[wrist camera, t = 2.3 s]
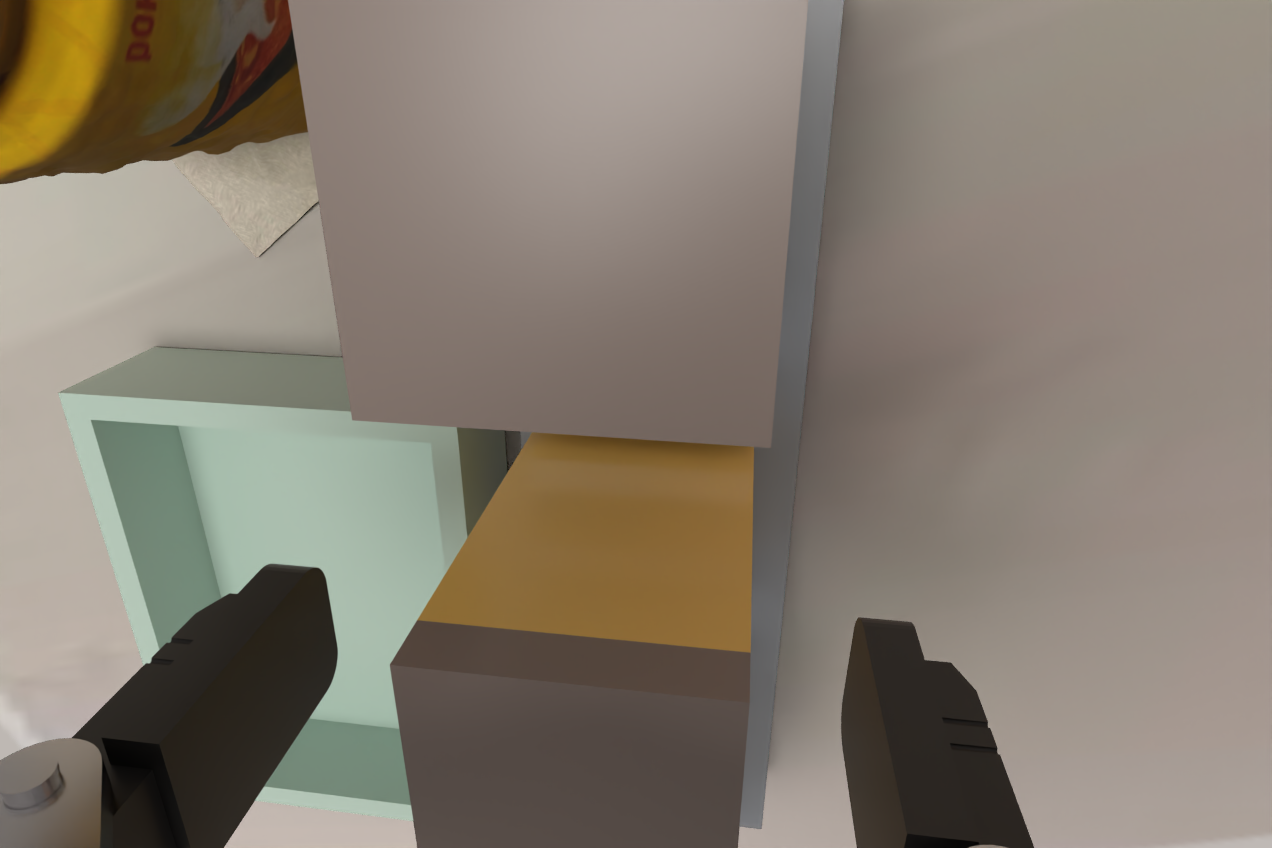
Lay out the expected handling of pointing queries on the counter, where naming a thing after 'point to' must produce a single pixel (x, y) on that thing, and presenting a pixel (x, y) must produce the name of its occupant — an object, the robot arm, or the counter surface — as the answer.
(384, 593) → the tray
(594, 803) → the block
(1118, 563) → the counter surface
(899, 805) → the robot arm
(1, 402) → the counter surface
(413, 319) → the rail
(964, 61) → the counter surface
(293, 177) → the condiment
